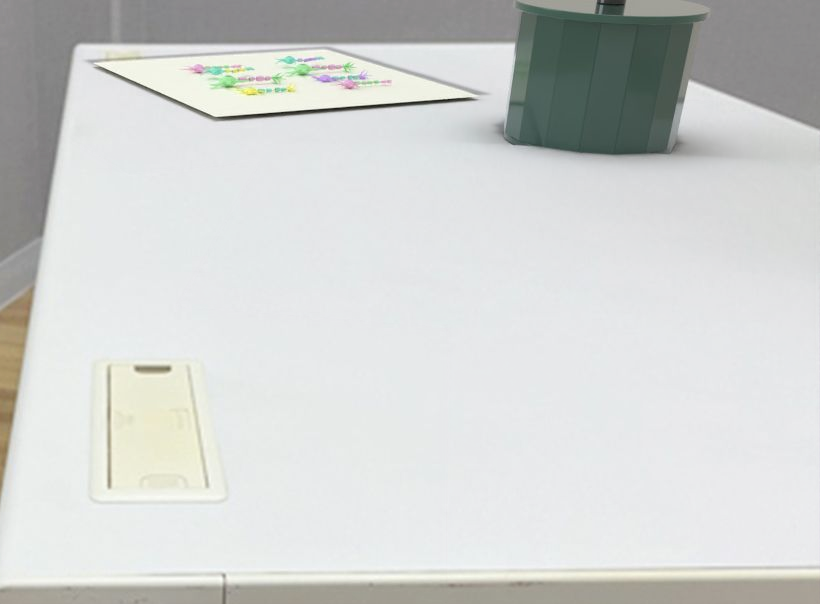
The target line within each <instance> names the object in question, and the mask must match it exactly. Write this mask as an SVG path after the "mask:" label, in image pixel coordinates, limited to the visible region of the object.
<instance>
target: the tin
mask: <svg viewBox="0 0 820 604" xmlns="http://www.w3.org/2000/svg"><path fill="white" fill-rule="evenodd" d="M701 25H702V22H697V23H689V24H673V25H636V24H613V23H598V22H586V21H576V20H567V19H559V18H552V17H546V16H540V15H535V14H531V13H527V12H523V11H520V10H519V14H518V23H517V30H516V37H515V44H514V50H513V51H514V52H513V58H512V64H511V65H512V66H511V72H510V79H509V86H508V94H507V102H506V107H505V115H504V121H503V137H504V139H505V140H506V141H507V142H509V143H510V144H512V145H514V146H525V147H539V148H540V147H541V148H548V149H553V150H560V151H568V152H573V153H585V154H604V155H635V154H636V155H639V154H642V155H643V154H657V155H668V154H670V153H671V152H672V151H673V147H674V145H675V144H676V142H677V138H678V132H679V128H680V123H681V118H682V114H683V110H684V104H685V99H686V96H687V95H686V94H687V92H688V91H687V90H688V86H689V81H690V76H691V72H692V66H693V62H694V58H695V57H694V56H695V52H696V49H697V44H698V40H699V35H700V29H701Z"/></svg>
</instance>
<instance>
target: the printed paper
mask: <svg viewBox="0 0 820 604" xmlns="http://www.w3.org/2000/svg"><path fill="white" fill-rule="evenodd" d="M93 64H94V65H96V66H97V67H98V66H99V67H101V68H103V69H106V70H108V71H110V72H113V73H115V74H117V75H119V76H121V77H124V78H125V79H128V80H130V81H133V82H135V83H137V84H139V85H142V86H144V87H147V88H148V89H151V90H152V91H153V90H154V91H155V92H158V93H160V94H162V95H163V96H164V95H165V96H167V97H169V98H171V99H173V100H176V101H178V102H180V103H183V104H185V105H187V106H190V107H191V108H194V109H196V110H198V111H201V112H203V113H205V114H208V115H210V116H212V117H215V118H218V117H231V116H232V117H233V116H245V115H246V116H247V115H258V114H269V113H270V114H271V113H282V112H283V113H285V112H297V111H309V110H310V111H311V110H323V109H334V108H335V109H336V108H347V107H348V108H349V107H360V106H361V107H362V106H373V105H386V104H387V105H388V104H400V103H412V102H425V101H439V100H448V99H449V100H451V99H464V98H476V97H477V98H478V97H479V95H478V94H474V93H471V92H468V91H465V90H461V89H458V88H454V87H452V86H447V85H444V84H440V83H438V82H435V81H431V80H428V79H425V78H421V77H418V76H416V75H415V76H414V75H411V74H407V73H405V72H401V71H398V70H395V69H392V68H388V67H385V66H381V65H378V64H374V63H372V62H369V61H368V62H367V61H365V60H361V59H358V58H355V57H352V56H348V55H345V54H342V53H339V52H335V51H333V50H332V51H331V50H329V49H317V50H302V51H301V50H300V51H284V52H283V51H281V52H264V53H263V52H261V53H246V54H245V53H244V54H227V55H210V56H209V55H208V56H207V55H206V56H193V57H190V56H189V57H173V58H156V59H137V60H119V61H118V60H117V61H100V62H99V61H98V62H93Z"/></svg>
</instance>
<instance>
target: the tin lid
mask: <svg viewBox="0 0 820 604" xmlns="http://www.w3.org/2000/svg"><path fill="white" fill-rule="evenodd" d="M512 6H513V8H515V9H516V10H518V11H519V12H520V11H523V12H527V13H531V14H535V15H540V16H546V17H552V18H559V19H567V20H576V21H586V22H598V23H613V24H636V25H673V24H689V23H697V22H701V23H702V22H705V21H707V20H709V19H710V15H711V11H712V10H711V8H710V7H708V6H706V5H703V4H700V3H696V2H693V1H688V0H513V4H512Z"/></svg>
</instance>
